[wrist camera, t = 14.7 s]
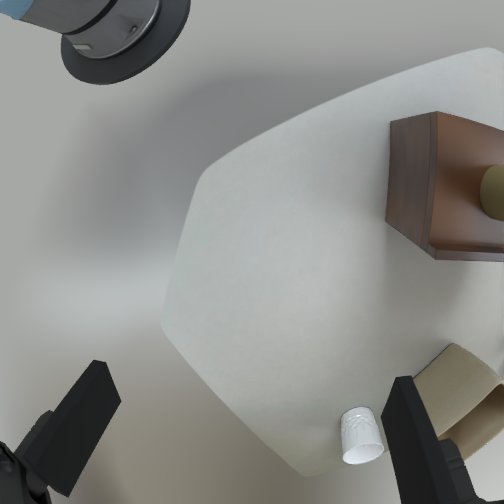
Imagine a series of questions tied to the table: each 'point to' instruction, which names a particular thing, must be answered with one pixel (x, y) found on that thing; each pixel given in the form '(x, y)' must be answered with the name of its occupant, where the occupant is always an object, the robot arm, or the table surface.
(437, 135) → the miniature wooden nightstand
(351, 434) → the white cup
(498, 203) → the olive pawn
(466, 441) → the flower pot
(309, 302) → the table surface
